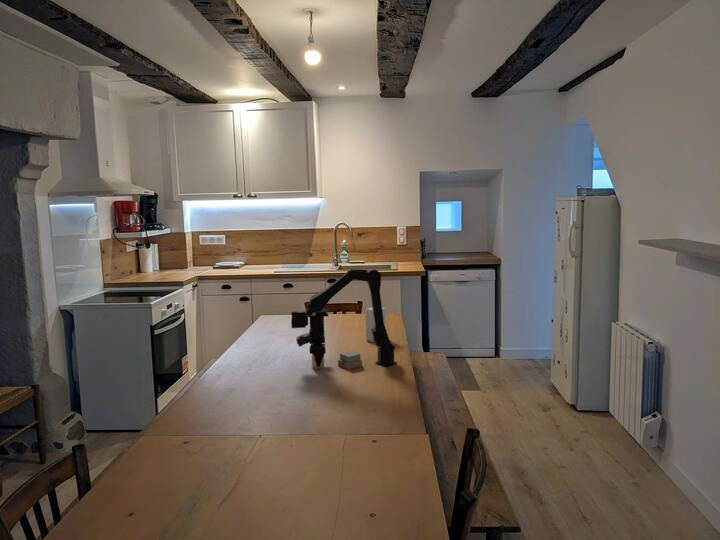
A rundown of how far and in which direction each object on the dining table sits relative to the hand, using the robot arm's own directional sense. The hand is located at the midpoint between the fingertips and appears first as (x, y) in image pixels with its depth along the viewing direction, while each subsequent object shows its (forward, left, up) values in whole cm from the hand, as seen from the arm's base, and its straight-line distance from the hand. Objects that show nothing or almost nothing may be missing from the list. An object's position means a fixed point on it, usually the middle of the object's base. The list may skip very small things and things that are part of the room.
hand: (318, 364), depth 220 cm
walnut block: (-8, -10, -2) cm, 13 cm away
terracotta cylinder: (0, 0, -1) cm, 1 cm away
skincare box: (+14, -45, -1) cm, 47 cm away
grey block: (-8, -11, +1) cm, 13 cm away
